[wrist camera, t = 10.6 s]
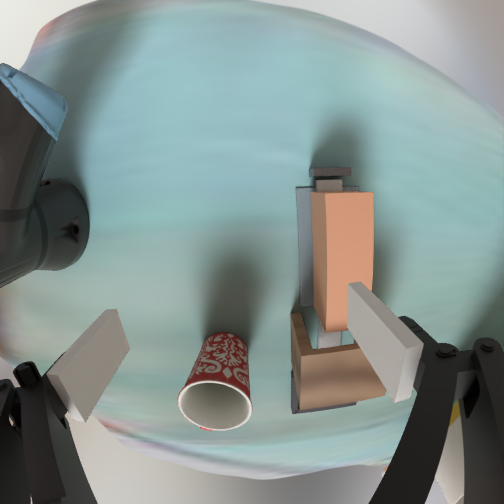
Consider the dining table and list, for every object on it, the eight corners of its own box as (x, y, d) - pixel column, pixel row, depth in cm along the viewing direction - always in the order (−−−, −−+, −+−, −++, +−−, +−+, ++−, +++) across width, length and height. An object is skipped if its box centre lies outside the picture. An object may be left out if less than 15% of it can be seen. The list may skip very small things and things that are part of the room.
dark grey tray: (353, 398, 45) (356, 404, 43) (291, 407, 45) (292, 414, 44) (359, 362, 43) (362, 368, 41) (291, 371, 43) (292, 377, 42)
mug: (204, 318, 41) (184, 371, 28) (261, 335, 42) (262, 393, 29) (187, 377, 44) (168, 433, 31) (237, 392, 45) (232, 450, 32)
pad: (357, 300, 40) (357, 300, 40) (300, 306, 41) (300, 306, 40) (358, 186, 37) (358, 186, 36) (295, 188, 37) (295, 188, 37)
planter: (469, 333, 42) (548, 404, 16) (503, 367, 45) (557, 420, 19) (387, 426, 47) (428, 517, 21) (439, 439, 50) (475, 503, 24)
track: (340, 363, 43) (345, 373, 40) (312, 366, 43) (315, 377, 40) (343, 168, 36) (350, 167, 33) (308, 169, 36) (313, 168, 33)
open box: (360, 352, 43) (384, 395, 31) (291, 361, 43) (300, 409, 32) (365, 305, 41) (396, 341, 29) (290, 313, 41) (301, 356, 30)
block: (349, 302, 39) (368, 327, 31) (313, 306, 39) (325, 332, 31) (349, 190, 35) (373, 192, 28) (310, 192, 36) (325, 193, 28)
